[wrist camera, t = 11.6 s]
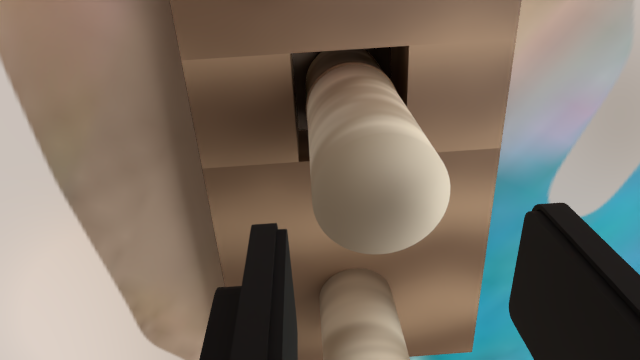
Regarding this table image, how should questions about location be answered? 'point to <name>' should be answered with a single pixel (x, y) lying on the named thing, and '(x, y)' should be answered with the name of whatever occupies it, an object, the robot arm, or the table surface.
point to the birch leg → (369, 158)
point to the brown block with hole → (294, 162)
